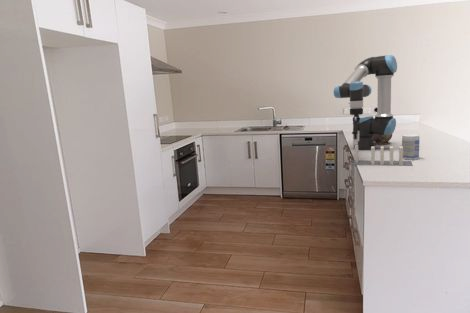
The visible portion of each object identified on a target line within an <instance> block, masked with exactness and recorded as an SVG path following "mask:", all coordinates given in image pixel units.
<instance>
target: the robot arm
mask: <svg viewBox="0 0 470 313" xmlns="http://www.w3.org/2000/svg"><path fill="white" fill-rule="evenodd" d="M397 69H398V62H397V59H396V57H395V56H394V55H392V54H391V55H390V54H389V55H378V56H371V57H368V58H365V59H364V60H362V61H360V62H359V63H358V64H357V65H356V66H355V68H354V71H352V73H351V74H350V75H349V76H348V77H347V78H346V80H345V81H344V82H343V83H342V84H341V85H337V86H335V87H334V88H333V97H334V98H335V99H345V98H346V99H347V98H348V99H349V102H348V104H349V115H350V116H353V117H352V132H351V134H352V145H353V149H354V150H355V145H358V151H359V150H360V151H369V150H370V151H371V147H372V146H375V147H376V143H375V141H374V139H373V134H375V135H391V134H392V135H393V133H394V131H395V130H396V128H397V127H396V126H397V120H396V118H395V117H394V115H393V114H392V112H391V110H392V108H391V106H392V78H393V77H395V76H394V75H395V73H396V72H397V71H398V70H397ZM369 75H375V78H376V79H377V107H376V108H377V112H376V114H375V116H373V115H371V116H361V115H363V114H364V108H363V107H364V98H366V97H369V96H371V93H372V92H373V91H372V86H370V85H368V84H364V82H363V81H361V80H362V79H363V78H366V77H367V76H369ZM360 116H361V117H360Z"/></svg>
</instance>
